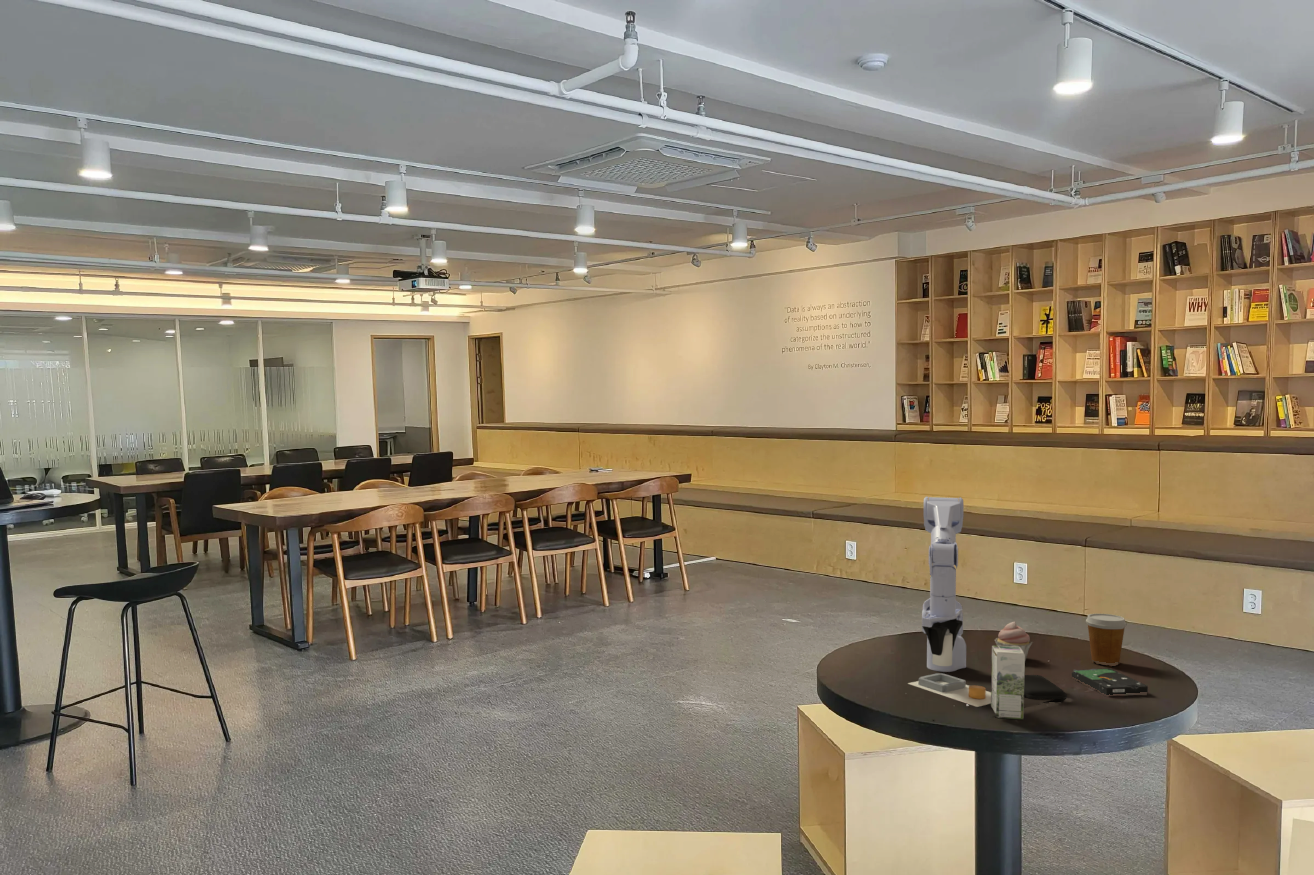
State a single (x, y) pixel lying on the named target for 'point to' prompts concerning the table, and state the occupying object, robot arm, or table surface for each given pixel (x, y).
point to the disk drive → (1109, 681)
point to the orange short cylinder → (977, 692)
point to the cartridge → (944, 652)
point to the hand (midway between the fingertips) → (942, 652)
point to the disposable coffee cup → (1106, 636)
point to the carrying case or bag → (1042, 689)
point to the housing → (950, 688)
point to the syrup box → (1008, 682)
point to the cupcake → (1014, 637)
